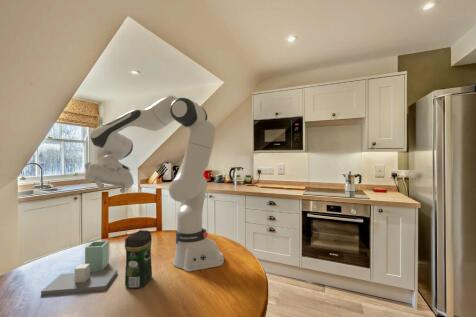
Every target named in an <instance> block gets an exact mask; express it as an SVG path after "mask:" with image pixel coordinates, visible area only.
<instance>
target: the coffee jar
mask: <svg viewBox="0 0 476 317" xmlns="http://www.w3.org/2000/svg"><path fill="white" fill-rule="evenodd" d="M124 250H125V253H126V254H125V259H126V260H125V275H124V285H125V287H126V288H129V289H132V290H133V289H140V288H142V287H144V286H145V285H146V284H147V283H149V282H150V280H151V279H152V277H153V272H152V270H153V269H152V268H153V267H152V233H151V232H150V231H149V230H142V229H141V230H138V231H136V232H133V233H132V234H130V235H129V236H128V237H127V236H126V238H125V239H124Z"/></svg>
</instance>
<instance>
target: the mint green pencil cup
mask: <svg viewBox="0 0 476 317" xmlns="http://www.w3.org/2000/svg"><path fill="white" fill-rule="evenodd" d="M109 243H110V241H109V240H97V241H92V242H90V243H89V244H88V245H87V246H85V247H84V264H90V272H97V271H105V270H104V269H106V267H107V266H108V265H109V264H110V262H109V260H110V259H109V258H110V257H109V255H110V253H109V252H110V250H109V249H110V248H109V247H110V244H109Z"/></svg>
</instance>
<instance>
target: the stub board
mask: <svg viewBox="0 0 476 317" xmlns="http://www.w3.org/2000/svg"><path fill="white" fill-rule="evenodd" d="M117 275H118V270H117V269H113V270H103V271H94V272H90V264H85V263H81V264H78V266H76V267H75V268H74V272H72V273H62V274H61V273H60V275H58V276H57V277H56V278H54V280H53V281H51V282H50V283H49V284H48V285H47V286H46V287H45V288H43V289H41V291H40V295H41V296H51V295H54V296H55V295H66V294H77V293H87V292H88V293H89V292H101V291H107V289H108V287H109V286H110V285H111V283H112V282H113V280H114V279H115V278H116V276H117Z"/></svg>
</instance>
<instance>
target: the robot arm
mask: <svg viewBox="0 0 476 317" xmlns="http://www.w3.org/2000/svg"><path fill="white" fill-rule="evenodd" d="M174 121H175V122H177V123H179V124H180V125H182V126H183V127H184V128H188V129H189V137H188V140H187V144H186V149H185V153H184V156H183V159H182V161H181V164H180V166H179V168H178V171H177V173H176V175H175V177H174V178H173V180H172V181H171V182H170V184H169V186H168V193H169V196H170V198H171V199H172V200H173V201H175V202H177V203H179V202H180V204H179V208H178V209H177V212H176V230H175V244H176V245H175V253H174V257H173V261H172V264H173V266H175V267H176V268H178V269H182V270H183V271H185V272H192V271H193V272H194V271H199V270H206V269H210V268H216V267H217V268H218V267H221V266H223V265H224V262H225V258H224V255H223V252H221V251H220V250H219V247H218V245H217V243H216V242H215V241H214V240H212V239H211V238H209V235H208V234H209V233H208V232H207V230H206V228H203V211H204V210H203V209H204V203H205V197H206V190H207V187H208V181H207V178H206V177H205V176H204V173H205V171H206V169H207V168H208V166H209V163H210V161H211V160H210V159H211V155H212V151H213V147H214V142H215V134H216V127H215V125H214V124H213V123H212V122H210V121H209V120H208V114H207V111H206V110H205V109H204V108H203V107H202V106H200V105H199V103H197V102H195V101H193V100H191V99H190V98H186V97H176V96H174V95H167V96H165V97H163V98H161V99H158V100H157V101H156V102H154V103H153V104H152V105H151V106H149V107H146V108H142V109H132V110H130V111H128V112H126V113H124V114H123V115H120V116H119V117H117V118H115V119H113V120H111V121H109V122H107V123H104V124H102V125H99V126H97V127H95V128H94V129H93V130H92V131H91V133H90V140H91V143H92V144H93V146H95V147H97V149H96V160H97V163H93V162H86V163H85V164H84V168H85V171H84V172H85V173H84V178H85V180H87V181H92V182H94V183H95V185H96V186H97V188H98V189H99V190H103V189H104V188H105V185H109V186H114V187H115V186H116V187H120V189H119V193H121V194H125V192H126V190H127V189H130V188H131V187H132V186H134V183H135V182H134V181H135V180H134V177H133V174H132V173H131V172H130V171H131V169H130V167H128V166H126V165H125V164H123V163H122V162H120V161H121V160H123V159H125V158H127V157H129V156H130V155H131V154H132V152H133V148H134V143H133V140H131V139H130V138H128V137H127V136H125V135H123V134H121V133H120V132H121V131H123V130H125V129H127V128H129V127H136V128H142V129H145V130H149V131H153V132H154V131H155V132H157V131H160V130H162V129H164V128H166V127H167V126H168V125H170V124H171V123H173V122H174Z"/></svg>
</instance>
